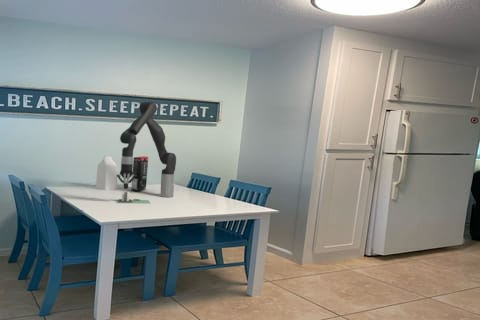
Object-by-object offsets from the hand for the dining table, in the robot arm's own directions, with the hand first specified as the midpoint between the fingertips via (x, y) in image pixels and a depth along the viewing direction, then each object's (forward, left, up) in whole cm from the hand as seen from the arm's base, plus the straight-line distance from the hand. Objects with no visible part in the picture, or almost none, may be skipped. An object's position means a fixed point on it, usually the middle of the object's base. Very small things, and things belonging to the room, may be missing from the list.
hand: (125, 188), depth 304 cm
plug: (0, 0, -8) cm, 8 cm away
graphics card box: (-16, -59, -10) cm, 62 cm away
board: (-5, 0, -9) cm, 11 cm away
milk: (+9, -66, -10) cm, 67 cm away
